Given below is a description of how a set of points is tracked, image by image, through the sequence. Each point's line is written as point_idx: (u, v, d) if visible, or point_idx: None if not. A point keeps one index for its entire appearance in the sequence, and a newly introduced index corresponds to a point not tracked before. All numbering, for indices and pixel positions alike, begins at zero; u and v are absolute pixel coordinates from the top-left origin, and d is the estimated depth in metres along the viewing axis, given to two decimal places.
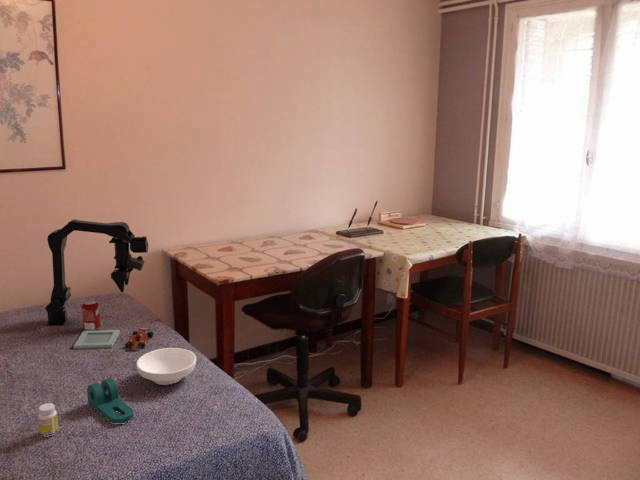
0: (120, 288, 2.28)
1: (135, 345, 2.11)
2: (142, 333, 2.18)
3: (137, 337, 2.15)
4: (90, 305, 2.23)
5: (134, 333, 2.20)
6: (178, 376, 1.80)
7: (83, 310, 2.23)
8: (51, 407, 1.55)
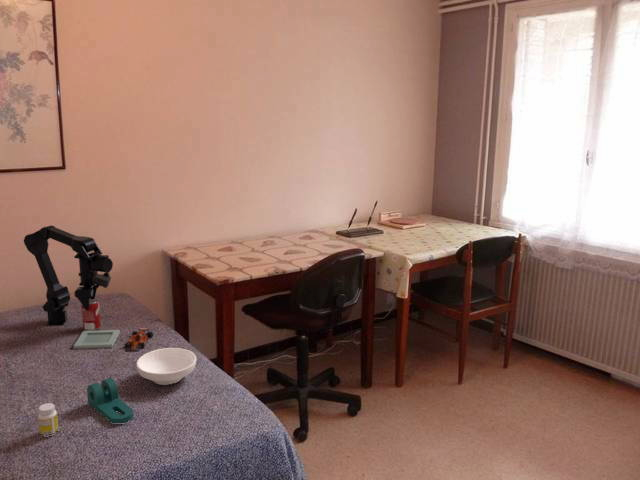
0: (84, 306, 2.20)
1: (135, 345, 2.11)
2: (142, 333, 2.18)
3: (137, 337, 2.15)
4: (90, 305, 2.23)
5: (134, 333, 2.20)
6: (178, 376, 1.80)
7: (83, 310, 2.23)
8: (51, 407, 1.55)
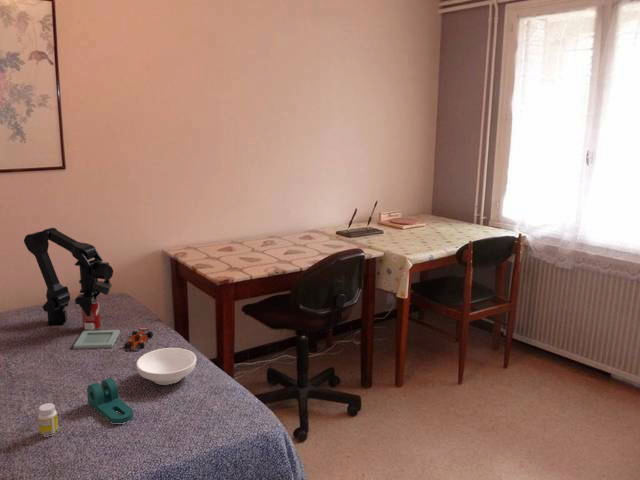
0: (86, 312, 2.22)
1: (134, 345, 2.11)
2: (141, 333, 2.18)
3: (136, 337, 2.15)
4: None
5: (133, 333, 2.20)
6: (178, 376, 1.80)
7: None
8: (51, 407, 1.55)
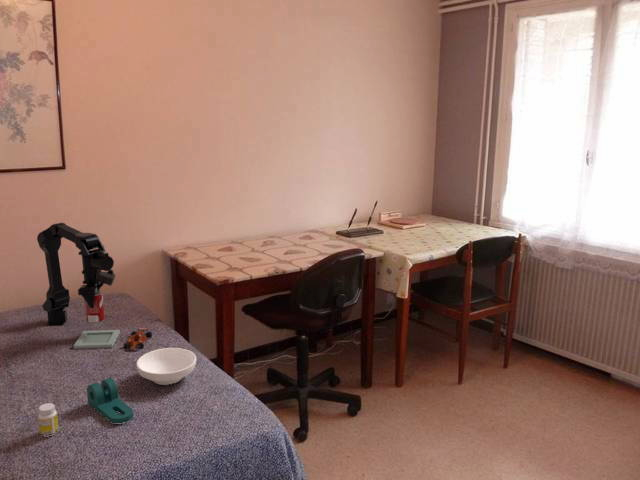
0: (89, 304, 2.13)
1: (134, 345, 2.10)
2: (141, 333, 2.18)
3: (136, 337, 2.15)
4: None
5: (133, 333, 2.20)
6: (178, 376, 1.80)
7: (86, 302, 2.14)
8: (51, 407, 1.55)
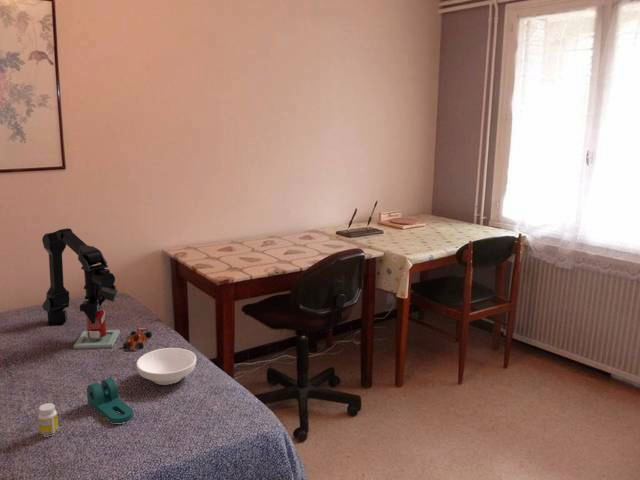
0: (91, 320, 2.11)
1: (133, 345, 2.10)
2: (140, 333, 2.17)
3: (135, 337, 2.15)
4: None
5: (132, 333, 2.20)
6: (178, 376, 1.80)
7: None
8: (51, 407, 1.55)
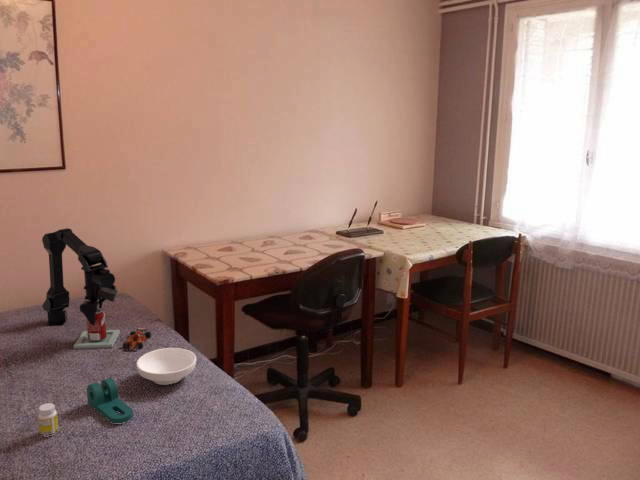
0: (90, 321, 2.10)
1: (133, 345, 2.10)
2: (140, 333, 2.17)
3: (135, 337, 2.15)
4: None
5: (132, 333, 2.20)
6: (178, 376, 1.80)
7: None
8: (51, 407, 1.55)
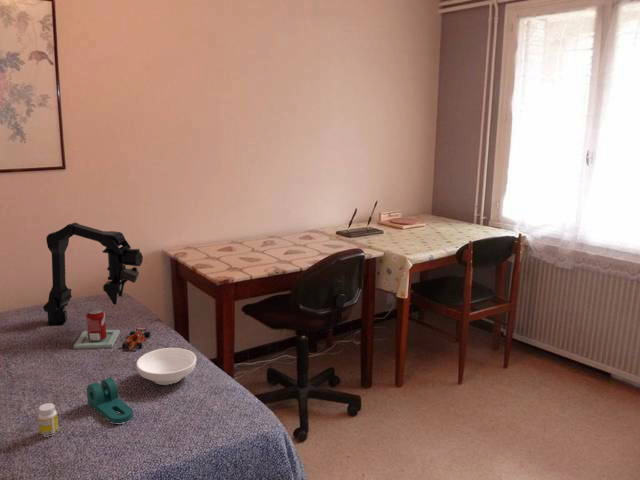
0: (112, 300, 2.20)
1: (132, 345, 2.10)
2: (139, 333, 2.17)
3: (134, 337, 2.15)
4: (95, 314, 2.12)
5: (131, 333, 2.20)
6: (178, 376, 1.80)
7: (88, 320, 2.12)
8: (51, 407, 1.55)
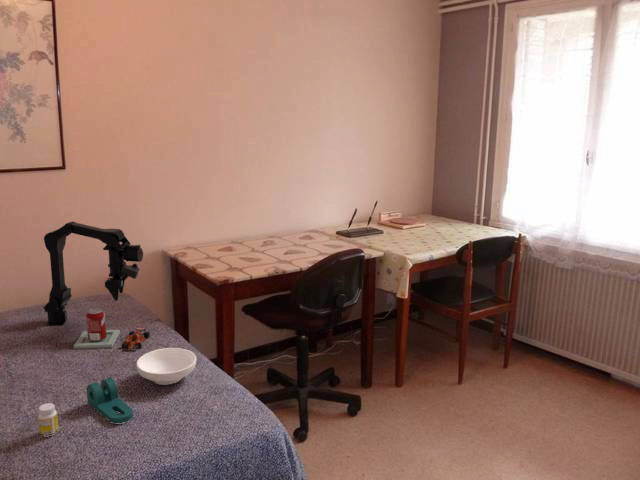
0: (114, 297, 2.23)
1: (132, 345, 2.10)
2: (139, 333, 2.17)
3: (134, 337, 2.15)
4: (95, 314, 2.12)
5: (130, 333, 2.20)
6: (178, 376, 1.80)
7: (88, 320, 2.12)
8: (51, 407, 1.55)
